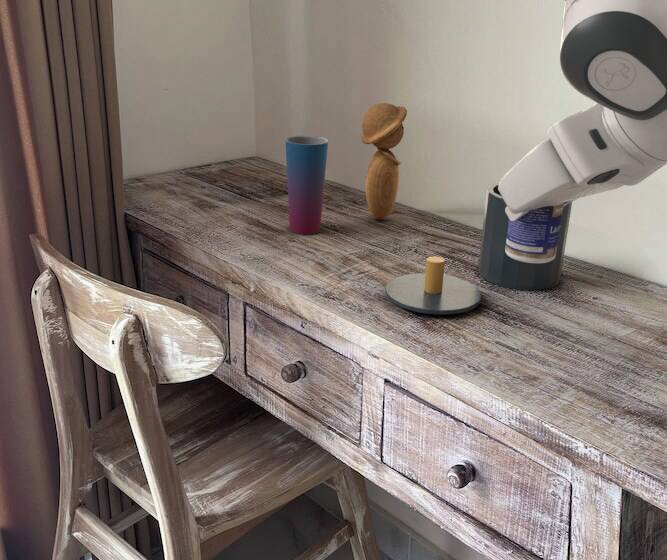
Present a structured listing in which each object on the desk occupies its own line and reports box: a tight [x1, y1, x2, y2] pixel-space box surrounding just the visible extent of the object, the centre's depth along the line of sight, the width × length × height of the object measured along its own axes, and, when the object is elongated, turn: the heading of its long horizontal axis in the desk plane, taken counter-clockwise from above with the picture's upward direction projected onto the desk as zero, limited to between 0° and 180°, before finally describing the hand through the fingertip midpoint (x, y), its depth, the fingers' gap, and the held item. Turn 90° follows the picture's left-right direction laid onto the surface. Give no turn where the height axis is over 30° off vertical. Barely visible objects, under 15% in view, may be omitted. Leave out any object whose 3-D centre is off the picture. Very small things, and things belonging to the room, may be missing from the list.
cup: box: [284, 134, 329, 236], centre depth 132 cm, size 7×7×15 cm
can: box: [478, 182, 573, 291], centre depth 116 cm, size 12×12×12 cm
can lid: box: [384, 255, 482, 316], centre depth 108 cm, size 13×13×6 cm
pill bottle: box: [505, 202, 564, 263], centre depth 91 cm, size 6×6×10 cm
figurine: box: [360, 102, 408, 220], centre depth 137 cm, size 9×7×20 cm
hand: (531, 209), depth 91 cm, fingers closed on pill bottle, 6 cm apart
